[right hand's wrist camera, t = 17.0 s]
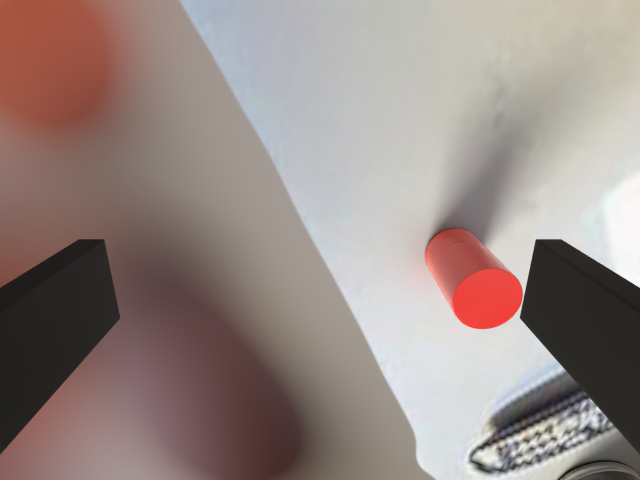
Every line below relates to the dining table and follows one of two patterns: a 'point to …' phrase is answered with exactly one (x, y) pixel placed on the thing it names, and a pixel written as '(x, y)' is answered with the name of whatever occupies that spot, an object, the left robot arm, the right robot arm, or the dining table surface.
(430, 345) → the dining table surface
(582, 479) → the left robot arm
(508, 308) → the red cylinder
